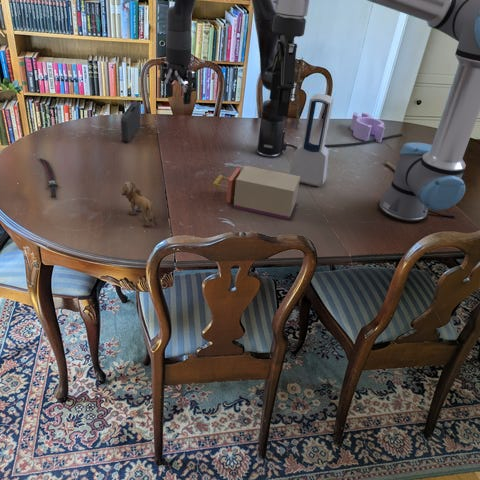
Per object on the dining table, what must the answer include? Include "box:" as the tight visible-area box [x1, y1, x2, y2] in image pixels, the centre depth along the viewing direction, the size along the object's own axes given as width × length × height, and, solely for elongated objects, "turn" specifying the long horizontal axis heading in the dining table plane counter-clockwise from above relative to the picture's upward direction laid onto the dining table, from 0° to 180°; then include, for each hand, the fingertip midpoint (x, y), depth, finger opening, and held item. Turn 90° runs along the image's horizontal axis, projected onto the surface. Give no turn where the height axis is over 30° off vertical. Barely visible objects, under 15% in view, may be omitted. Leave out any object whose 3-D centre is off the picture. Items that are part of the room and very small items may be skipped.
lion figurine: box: [119, 181, 159, 227], centre depth 134 cm, size 15×5×9 cm, turn 50°
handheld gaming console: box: [120, 101, 141, 143], centre depth 188 cm, size 23×3×10 cm, turn 178°
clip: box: [349, 112, 386, 143], centre depth 214 cm, size 20×12×7 cm, turn 11°
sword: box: [40, 158, 59, 198], centre depth 151 cm, size 31×3×1 cm, turn 26°
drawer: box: [212, 167, 242, 204], centre depth 147 cm, size 22×10×8 cm, turn 74°
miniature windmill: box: [285, 57, 304, 129], centre depth 209 cm, size 9×8×30 cm
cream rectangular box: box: [232, 165, 300, 221], centre depth 146 cm, size 18×11×10 cm, turn 74°
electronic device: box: [288, 93, 335, 188], centre depth 159 cm, size 12×8×30 cm, turn 71°
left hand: (177, 100), depth 147 cm, fingers open, 8 cm apart
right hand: (277, 107), depth 119 cm, fingers open, 13 cm apart
